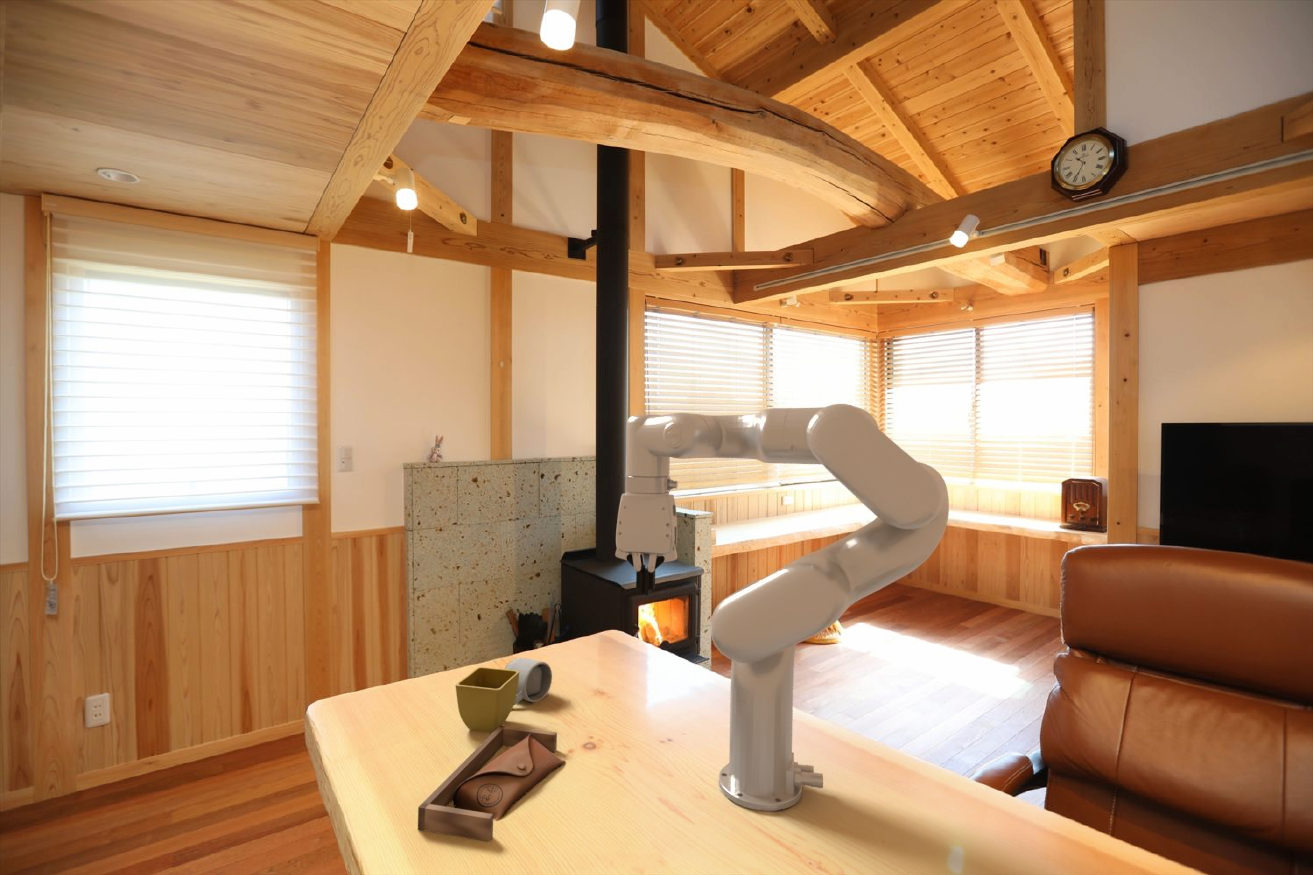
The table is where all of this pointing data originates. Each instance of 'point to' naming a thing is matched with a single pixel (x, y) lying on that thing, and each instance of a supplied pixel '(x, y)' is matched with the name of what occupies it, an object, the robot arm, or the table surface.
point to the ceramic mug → (531, 679)
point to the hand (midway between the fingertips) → (645, 593)
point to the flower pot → (487, 697)
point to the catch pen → (459, 820)
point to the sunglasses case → (506, 779)
